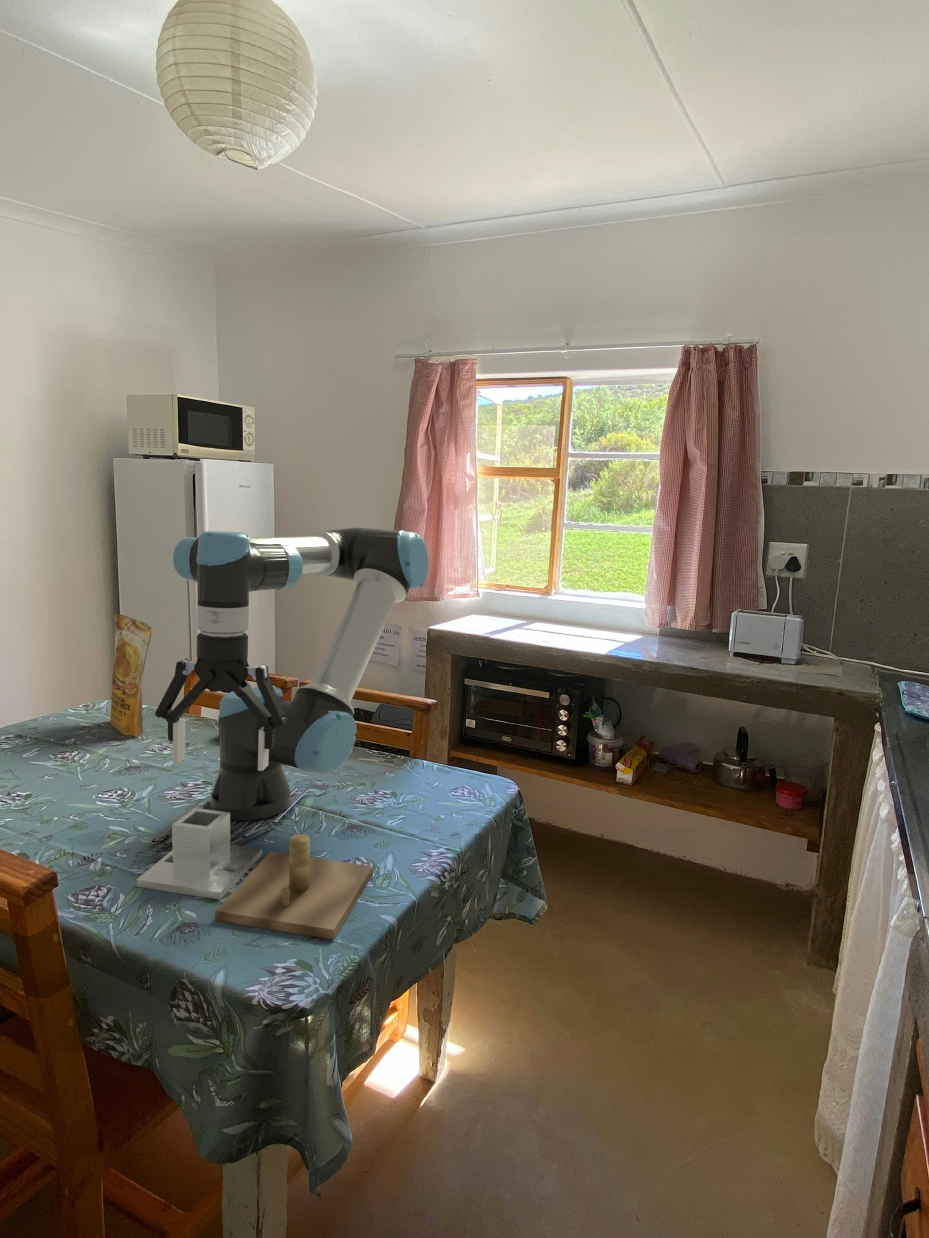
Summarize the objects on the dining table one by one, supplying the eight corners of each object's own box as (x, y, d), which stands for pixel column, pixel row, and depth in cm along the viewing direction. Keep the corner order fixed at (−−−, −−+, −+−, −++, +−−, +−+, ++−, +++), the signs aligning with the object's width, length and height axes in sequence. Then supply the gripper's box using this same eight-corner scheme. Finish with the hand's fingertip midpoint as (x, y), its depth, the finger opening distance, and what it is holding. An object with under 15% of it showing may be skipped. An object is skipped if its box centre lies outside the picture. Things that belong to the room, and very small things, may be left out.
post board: (215, 920, 105) (214, 859, 103) (270, 859, 122) (270, 806, 120) (333, 939, 102) (334, 877, 100) (372, 874, 119) (374, 820, 117)
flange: (136, 886, 112) (135, 832, 111) (186, 844, 126) (185, 795, 124) (220, 899, 110) (219, 844, 108) (262, 855, 123) (262, 805, 122)
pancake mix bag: (130, 715, 191) (127, 611, 186) (157, 736, 178) (154, 624, 173) (103, 720, 187) (99, 613, 182) (128, 741, 173) (124, 626, 168)
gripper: (131, 630, 108) (132, 765, 111) (295, 642, 107) (291, 779, 110) (155, 623, 116) (156, 750, 119) (309, 634, 114) (305, 762, 118)
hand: (221, 764), depth 115 cm, fingers open, 13 cm apart
